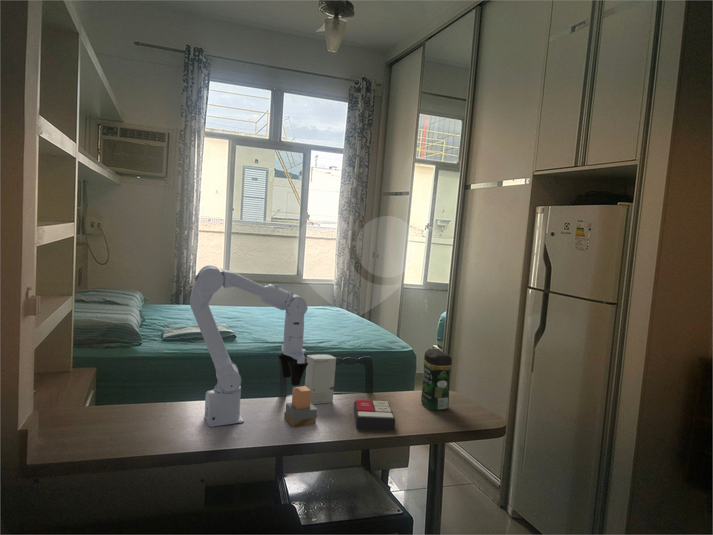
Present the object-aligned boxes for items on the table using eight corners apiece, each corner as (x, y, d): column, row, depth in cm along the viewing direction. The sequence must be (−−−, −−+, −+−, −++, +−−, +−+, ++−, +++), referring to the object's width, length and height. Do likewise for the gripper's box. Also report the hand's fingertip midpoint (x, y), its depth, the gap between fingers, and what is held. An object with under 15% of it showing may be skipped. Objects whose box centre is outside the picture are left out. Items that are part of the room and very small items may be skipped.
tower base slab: (292, 429, 132) (293, 420, 132) (284, 420, 139) (284, 411, 138) (315, 425, 136) (316, 417, 136) (306, 416, 142) (306, 408, 142)
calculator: (388, 400, 150) (395, 416, 135) (388, 413, 150) (394, 431, 135) (354, 398, 149) (357, 414, 134) (353, 412, 149) (356, 429, 134)
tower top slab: (293, 420, 132) (294, 412, 132) (285, 411, 138) (286, 403, 138) (317, 417, 136) (317, 409, 135) (308, 408, 142) (308, 400, 142)
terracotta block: (297, 409, 134) (298, 391, 134) (291, 404, 138) (292, 387, 137) (310, 407, 136) (310, 390, 136) (304, 402, 140) (305, 385, 140)
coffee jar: (417, 401, 160) (421, 347, 158) (438, 400, 162) (443, 347, 160) (429, 412, 150) (433, 354, 149) (451, 411, 152) (456, 354, 151)
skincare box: (310, 405, 150) (312, 359, 149) (303, 399, 155) (305, 354, 154) (334, 402, 154) (336, 357, 153) (326, 396, 159) (329, 352, 158)
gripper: (315, 340, 135) (313, 387, 136) (297, 330, 148) (295, 372, 149) (292, 342, 132) (289, 389, 133) (275, 330, 144) (273, 374, 145)
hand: (291, 380), depth 140 cm, fingers open, 7 cm apart
